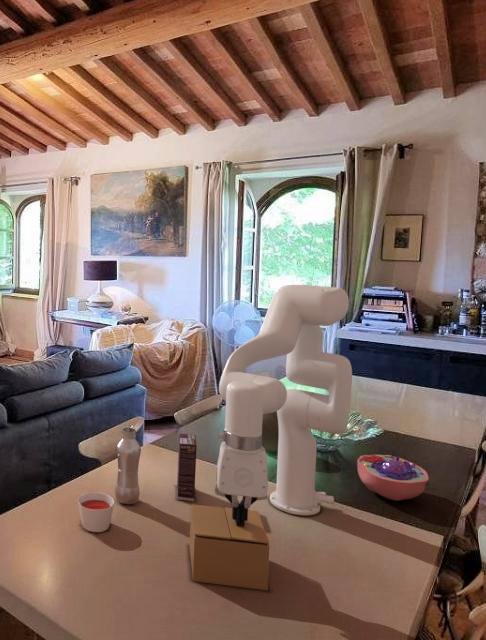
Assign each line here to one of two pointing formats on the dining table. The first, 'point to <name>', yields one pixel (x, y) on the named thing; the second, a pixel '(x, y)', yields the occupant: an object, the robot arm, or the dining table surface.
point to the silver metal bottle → (128, 467)
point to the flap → (247, 528)
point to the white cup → (95, 511)
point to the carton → (224, 552)
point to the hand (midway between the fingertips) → (239, 522)
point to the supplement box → (186, 467)
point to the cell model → (391, 476)
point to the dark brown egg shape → (270, 432)
